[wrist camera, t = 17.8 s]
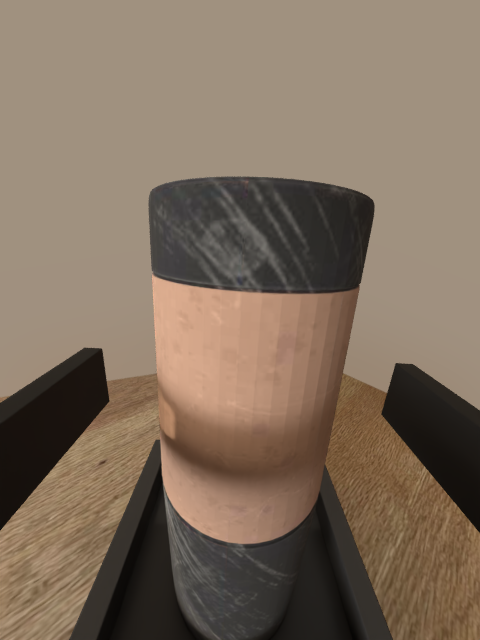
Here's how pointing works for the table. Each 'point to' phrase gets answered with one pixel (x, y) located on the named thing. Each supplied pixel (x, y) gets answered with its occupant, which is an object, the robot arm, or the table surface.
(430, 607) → the table surface
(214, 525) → the travel mug
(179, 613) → the dock pad
